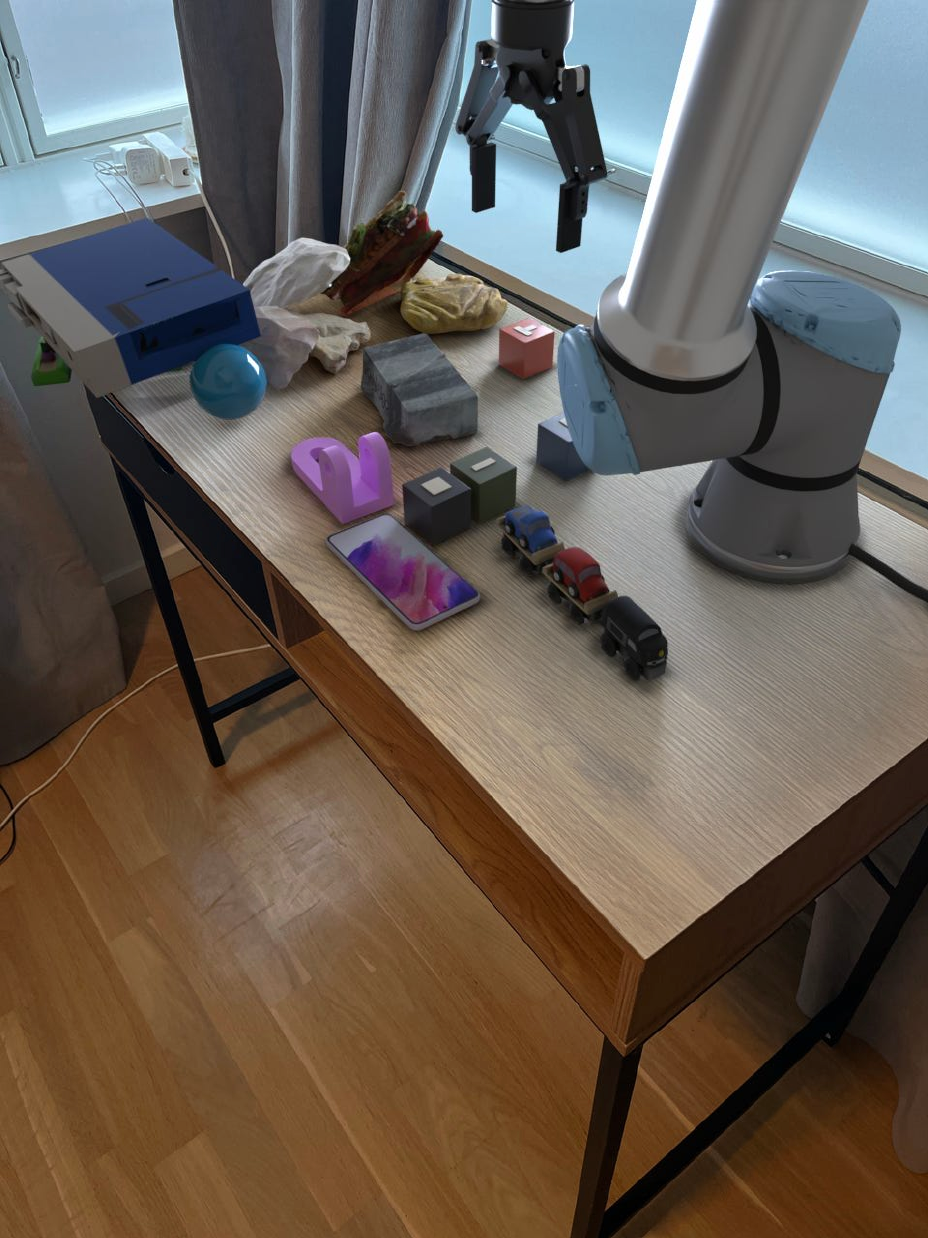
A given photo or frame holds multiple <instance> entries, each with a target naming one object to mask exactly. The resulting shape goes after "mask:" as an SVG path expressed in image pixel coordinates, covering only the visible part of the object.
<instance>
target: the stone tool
mask: <svg viewBox="0 0 928 1238" xmlns="http://www.w3.org/2000/svg"><path fill="white" fill-rule="evenodd" d="M254 309H255V313H256V317H257V322H258V326H259V330H260V334H261V337H258V338H256V339H253V340H250V341H248V342H245V343H242V344H240V345H239V346H241V347H244V348H246V349H247V350H249V351H250V352H251V353H253V354H254V355H255V356H256V357H257V359H258V360H259V361H260V363H261V365H262V366H263V369H264V371H265V375H266V381H267V383H268V384H269V385H270V386H271V387H273V389H274V388H275V389H277V390H283V389H286V388H287V387H288V385H290V384H289V383H290V382H291V380H292V379H293V376H294V374H295V373H297V372H299V370H300V369H301V367H302V365H303V364H305V363H307V361H308V359H309V353H310V352H311V351H312V350H313V348H314V345H315V344H316V343H317V342H318V339H319V331H318V329H316V328H315V327H314V326H312V325H310V324H309V323H308V321H307V320H306V319H303V318H299V317H297V316H295V315H293V314H291V313H289V312H288V311H287V310H286V309H287V308H286V309H283V308H279V306H262V307H254Z"/></svg>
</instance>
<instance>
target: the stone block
mask: <svg viewBox="0 0 928 1238" xmlns="http://www.w3.org/2000/svg"><path fill="white" fill-rule="evenodd" d="M360 382H361V383H360V390H361V391H362V392H363V395H364V396H366V398H368V399H369V400H370V401H371V403H372V404H373V405H374V406H375V407H376V409H377V410H378V413H379V415H380V416H381V417H382V420H383V421H384V422H383V424H382V425H383V430H384V431H385V433H386V435H387V437H388V439H390V440H391V441H392V443H393V444H401V445H404V446H405V447H415V446H419V445H423V444H429V443H433V442H434V443H435V442H437V441H445V440H455V439H459V438H464V437H468V436H471V435H476V434H477V433H478V424H479V423H478V422H479V397H478V394H477V393H476V391H475V390H474V389H473V388H472V386H471V385H470V384H469V383H468V382H467V380H466V379H464V377H463V376H462V374H461V373H460V372H459V371H458V370H457V368H456V367H455V365H453V363H452V362H451V361H450V360H449V359H448V357H447V356H446V354H445V352H442V351H441V350H440V348H438V346H437V344H435V343H434V341H433V340H432V339H431V337H430V336H429V334H426V333H423V332H422V333H418V334H415V335H411V336H410V335H409V336H406V337H401V338H398V339H393V340H390V341H385V342H381V343H378V344H373V345H370V346H366V347H363V348H362V374H361V381H360Z"/></svg>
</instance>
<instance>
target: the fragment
mask: <svg viewBox="0 0 928 1238" xmlns="http://www.w3.org/2000/svg"><path fill="white" fill-rule="evenodd" d="M349 262H350V257H349V255H348V252H347V250H346V249H345V248H343V246H341V245H338V244H334V243H333V244H332V243H326V242H322V241H321V240H317V239H314V238H309V237H308V238H307V237H300V238H297V239H295V240H293V241H291V242H290V243H289V244H288V245H287V246H286V247H285V248H283V249H282V250H280V251H279V252H278V253H277V254H275V255H273V256H272V257H271V258H268V259H267V258H266V259H265V260H263V261H262V262H261V263H260V264H259V265H258V266H257V267H255V268H254V269H253V270H252V271H251V273H250V275H248V277H247V278H246V279H245V280H244V282H243V283H242V285H244V286H245V287H246V288H248V289H249V290H250V293H251V297H252V301H253V305H254V307H262V306H279V308H283V309H289V308H291V307H293V306H297V305H300V304H302V303H304V302H306V301H308V300H311V299H312V298H314V297H317V296H318V295H321V294H320V293H322V292H323V291H325V290H326V288H328V287H329V284H330V283H331V282H332V281H333V280H334V279H336V278H337V277H338V276H339V275H340V274H341V273H342V272H343V271H344V270H345V269H346V268H347V266H348V265H349Z"/></svg>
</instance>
